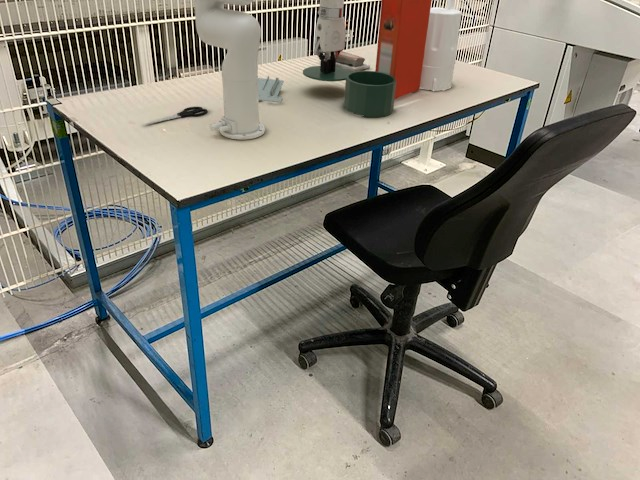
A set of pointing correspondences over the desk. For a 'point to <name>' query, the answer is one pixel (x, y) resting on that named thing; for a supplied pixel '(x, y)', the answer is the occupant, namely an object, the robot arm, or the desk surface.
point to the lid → (330, 76)
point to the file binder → (403, 42)
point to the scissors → (186, 113)
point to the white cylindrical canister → (440, 47)
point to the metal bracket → (269, 89)
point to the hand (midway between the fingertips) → (327, 71)
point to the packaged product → (350, 62)
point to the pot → (370, 93)
